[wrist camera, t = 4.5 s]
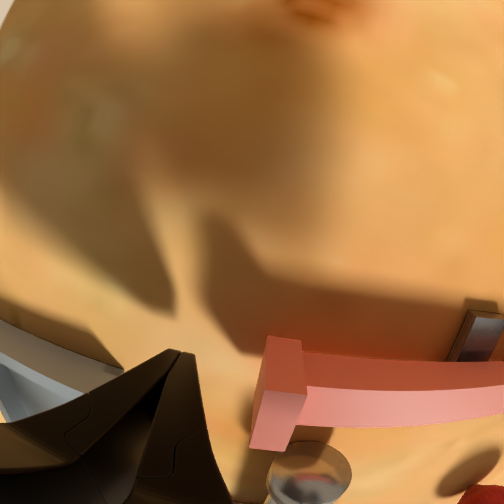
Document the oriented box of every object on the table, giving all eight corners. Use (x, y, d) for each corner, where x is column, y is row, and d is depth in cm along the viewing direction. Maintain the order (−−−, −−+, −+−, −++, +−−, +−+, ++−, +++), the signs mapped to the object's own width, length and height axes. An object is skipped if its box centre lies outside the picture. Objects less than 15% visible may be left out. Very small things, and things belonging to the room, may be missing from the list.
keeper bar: (541, 386, 9) (562, 411, 7) (254, 392, 9) (249, 447, 7) (562, 349, 8) (585, 372, 6) (267, 335, 9) (264, 389, 6)
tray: (153, 515, 16) (147, 533, 14) (61, 478, 16) (53, 493, 14) (124, 369, 11) (103, 400, 9) (-9, 314, 11) (-32, 331, 9)
